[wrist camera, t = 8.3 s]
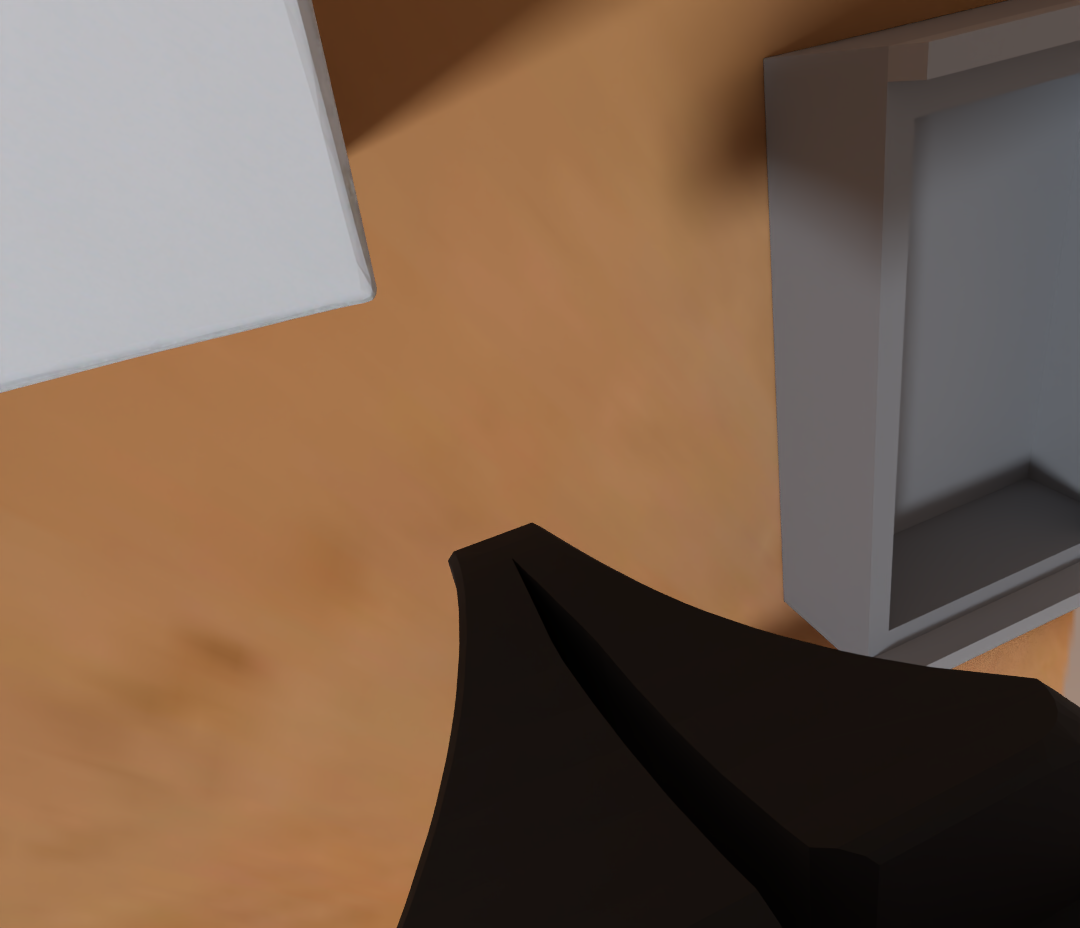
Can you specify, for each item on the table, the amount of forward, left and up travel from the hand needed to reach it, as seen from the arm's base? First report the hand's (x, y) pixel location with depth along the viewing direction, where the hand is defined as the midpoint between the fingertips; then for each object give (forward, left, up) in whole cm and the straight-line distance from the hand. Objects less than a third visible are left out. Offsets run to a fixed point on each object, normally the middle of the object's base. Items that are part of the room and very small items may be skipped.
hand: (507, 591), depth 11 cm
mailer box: (-4, -18, -10) cm, 21 cm away
